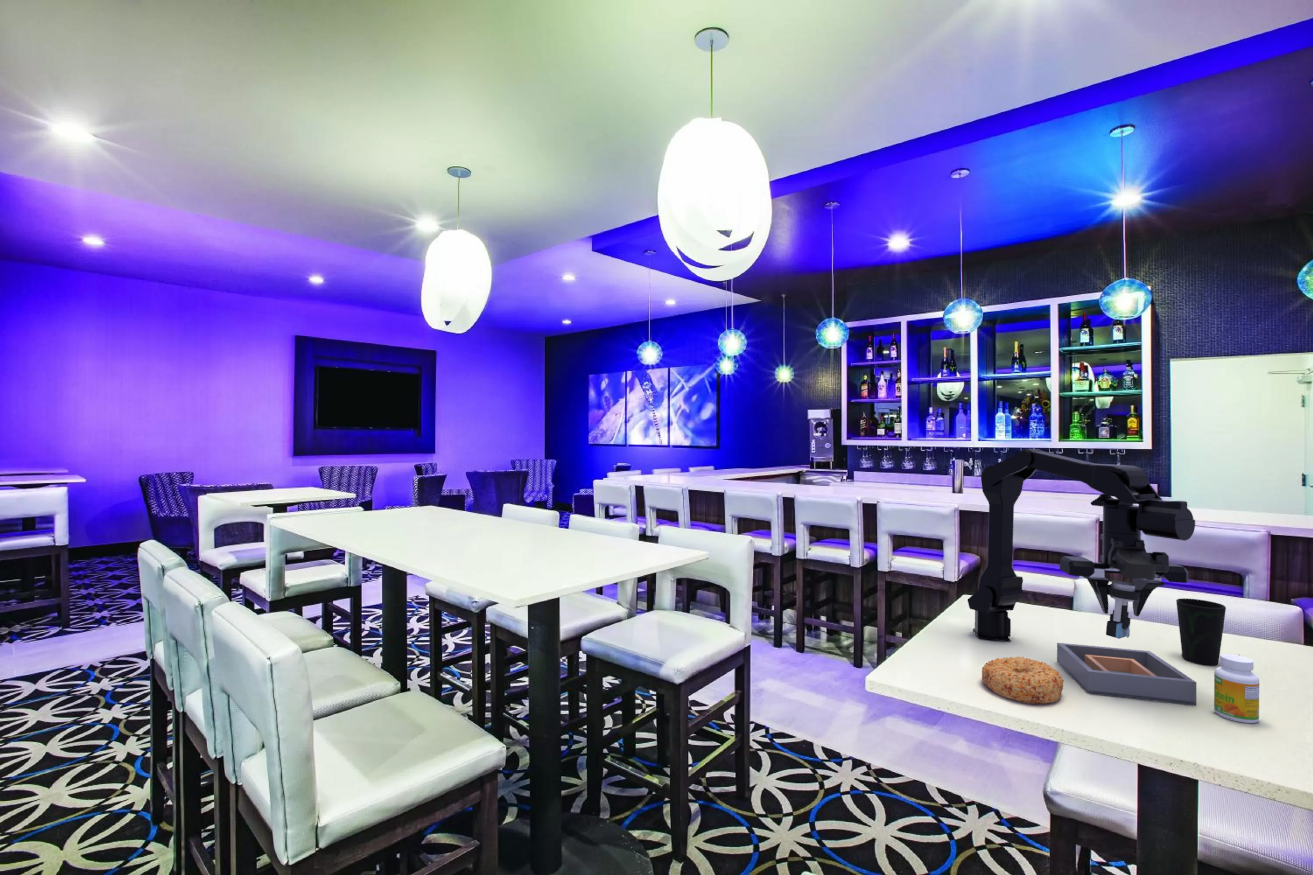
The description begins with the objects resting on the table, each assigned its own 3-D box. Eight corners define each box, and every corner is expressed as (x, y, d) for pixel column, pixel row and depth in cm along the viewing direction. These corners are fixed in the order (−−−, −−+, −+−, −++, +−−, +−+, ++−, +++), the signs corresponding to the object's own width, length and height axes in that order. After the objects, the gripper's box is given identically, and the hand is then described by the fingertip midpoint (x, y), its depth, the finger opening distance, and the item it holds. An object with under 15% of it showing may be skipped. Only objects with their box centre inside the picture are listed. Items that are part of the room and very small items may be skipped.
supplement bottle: (1204, 709, 102) (1205, 652, 102) (1233, 708, 103) (1234, 651, 103) (1238, 724, 97) (1238, 664, 97) (1268, 723, 97) (1269, 663, 97)
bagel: (1056, 683, 113) (1056, 657, 113) (1072, 713, 101) (1072, 683, 101) (978, 672, 118) (979, 647, 118) (984, 699, 106) (985, 671, 106)
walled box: (1088, 693, 108) (1088, 671, 108) (1056, 662, 124) (1057, 642, 124) (1196, 705, 104) (1196, 682, 104) (1149, 671, 119) (1149, 650, 119)
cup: (1213, 656, 127) (1213, 600, 127) (1234, 669, 120) (1234, 609, 120) (1168, 652, 130) (1169, 596, 130) (1186, 664, 123) (1186, 606, 123)
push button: (1110, 628, 118) (1115, 577, 118) (1144, 637, 113) (1149, 585, 113) (1096, 632, 114) (1100, 580, 114) (1129, 642, 110) (1134, 588, 110)
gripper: (1081, 535, 109) (1080, 622, 109) (1207, 541, 104) (1206, 632, 104) (1059, 527, 119) (1058, 605, 119) (1172, 532, 114) (1171, 614, 114)
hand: (1120, 614), depth 114 cm, fingers closed on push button, 5 cm apart
